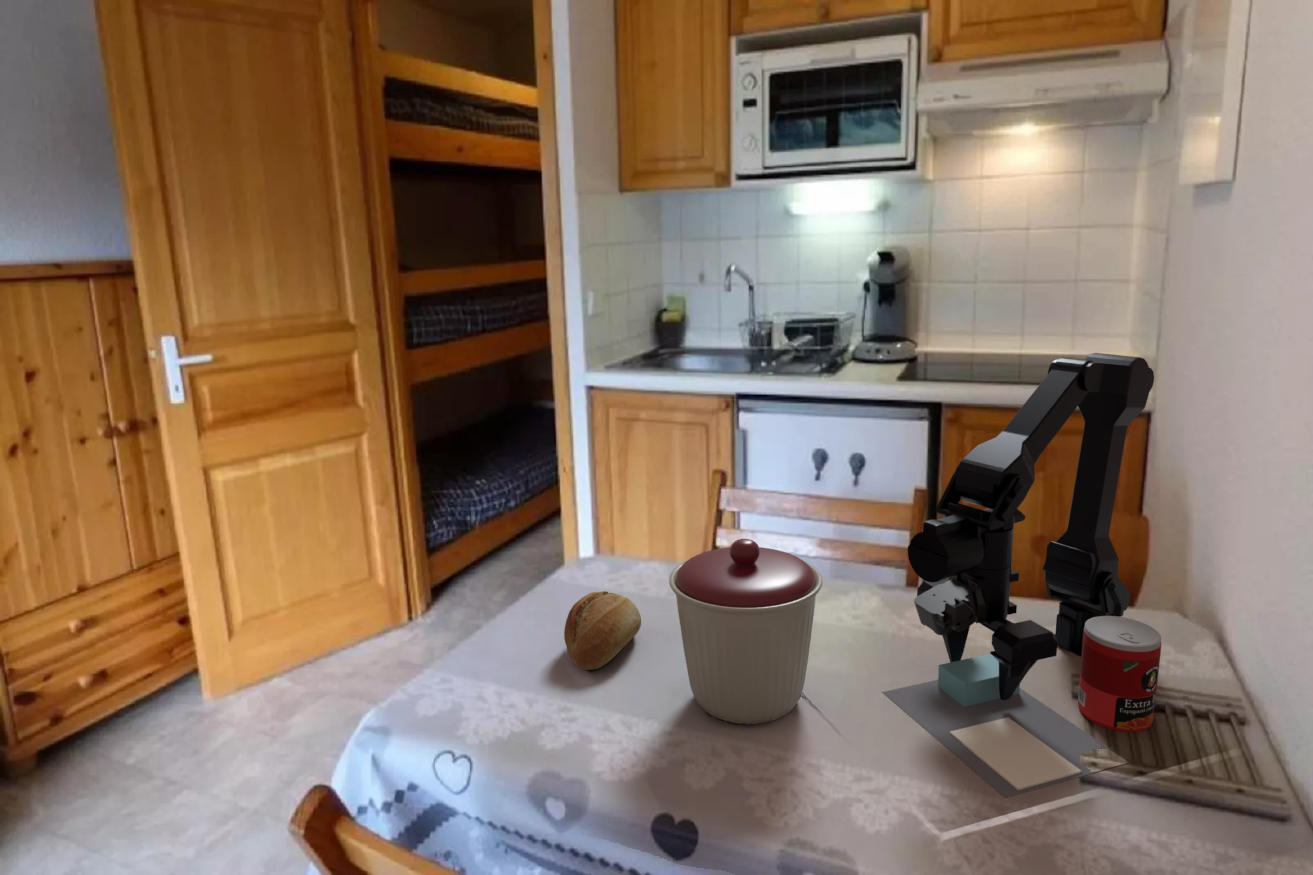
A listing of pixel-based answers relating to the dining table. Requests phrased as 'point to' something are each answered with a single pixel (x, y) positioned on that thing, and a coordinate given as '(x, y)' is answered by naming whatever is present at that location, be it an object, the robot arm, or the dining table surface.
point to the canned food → (1119, 673)
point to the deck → (971, 680)
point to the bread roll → (600, 628)
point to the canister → (746, 629)
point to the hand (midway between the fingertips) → (978, 681)
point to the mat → (1001, 737)
